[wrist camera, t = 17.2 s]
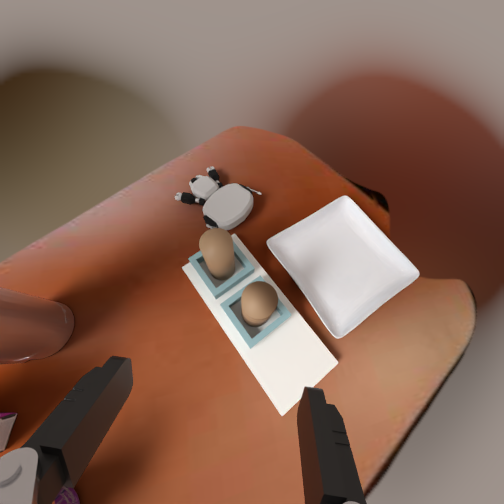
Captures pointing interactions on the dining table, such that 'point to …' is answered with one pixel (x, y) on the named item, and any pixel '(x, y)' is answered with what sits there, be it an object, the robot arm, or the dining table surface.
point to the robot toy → (219, 200)
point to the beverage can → (67, 496)
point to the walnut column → (258, 303)
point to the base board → (266, 336)
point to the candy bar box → (6, 428)
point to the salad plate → (342, 264)
